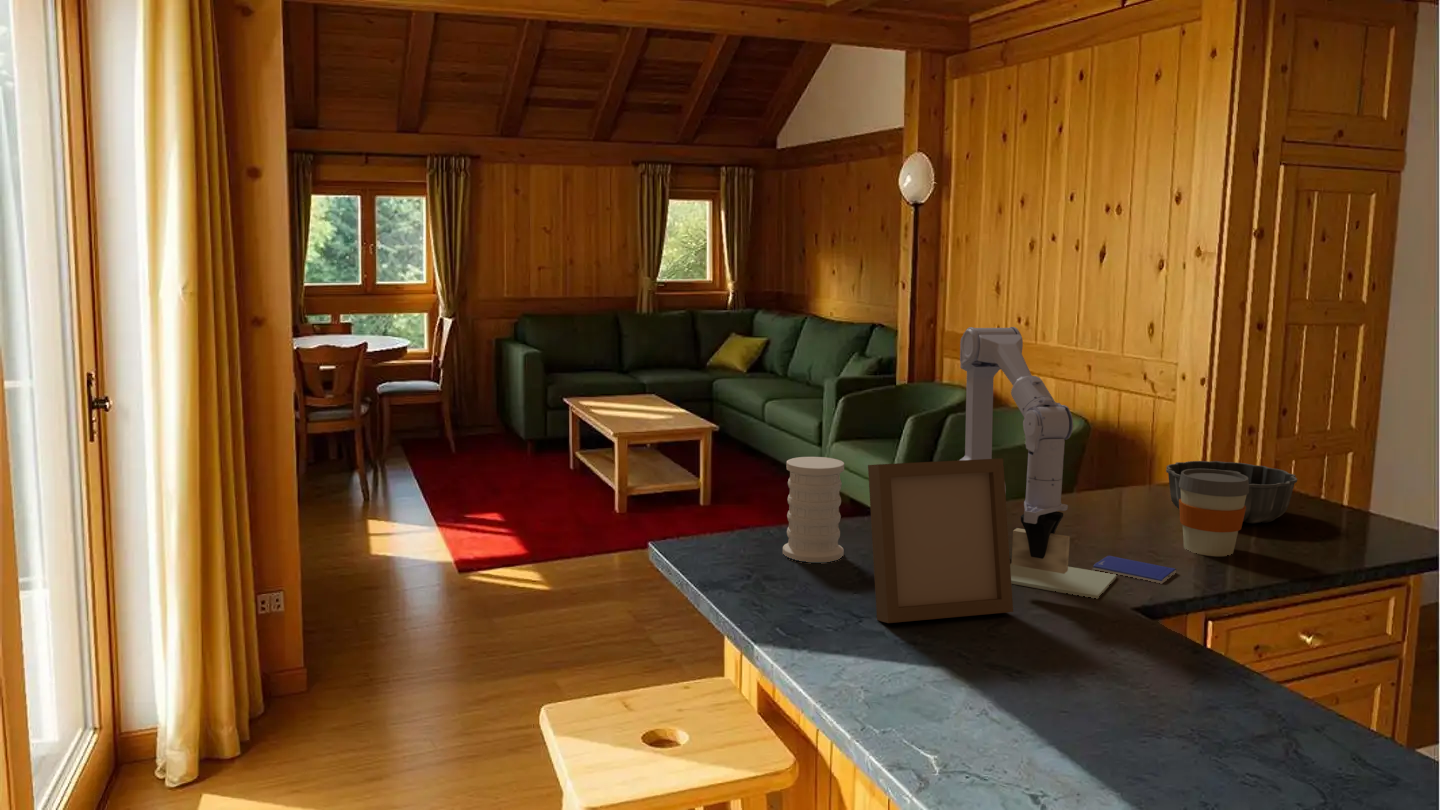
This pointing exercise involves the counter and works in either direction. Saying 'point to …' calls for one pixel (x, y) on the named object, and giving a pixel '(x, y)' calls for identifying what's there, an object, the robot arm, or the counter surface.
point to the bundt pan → (1265, 487)
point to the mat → (1063, 580)
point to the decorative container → (814, 509)
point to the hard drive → (1134, 569)
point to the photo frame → (940, 539)
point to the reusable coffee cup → (1212, 510)
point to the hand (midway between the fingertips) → (1039, 555)
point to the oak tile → (1053, 557)
